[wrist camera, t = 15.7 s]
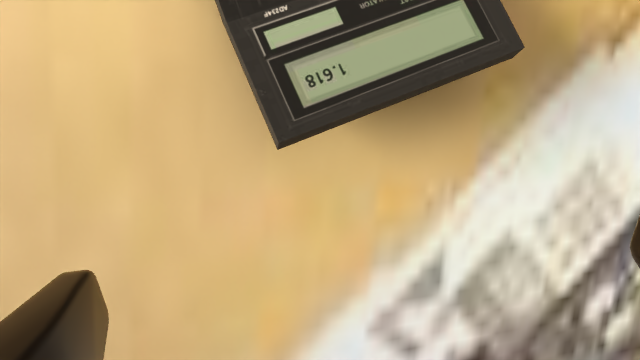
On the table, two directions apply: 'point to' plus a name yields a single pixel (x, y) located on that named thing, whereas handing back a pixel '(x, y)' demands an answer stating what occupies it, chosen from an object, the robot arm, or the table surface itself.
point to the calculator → (358, 54)
